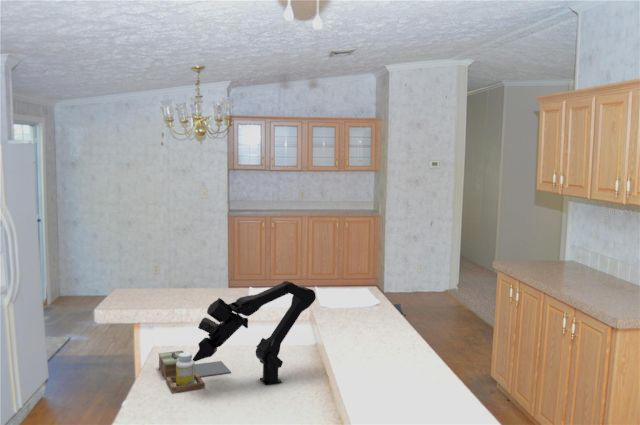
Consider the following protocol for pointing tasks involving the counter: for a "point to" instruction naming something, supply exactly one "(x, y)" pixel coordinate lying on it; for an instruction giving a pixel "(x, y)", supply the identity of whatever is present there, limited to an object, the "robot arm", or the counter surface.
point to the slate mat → (211, 369)
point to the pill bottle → (185, 369)
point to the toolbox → (169, 373)
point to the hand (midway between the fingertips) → (197, 356)
